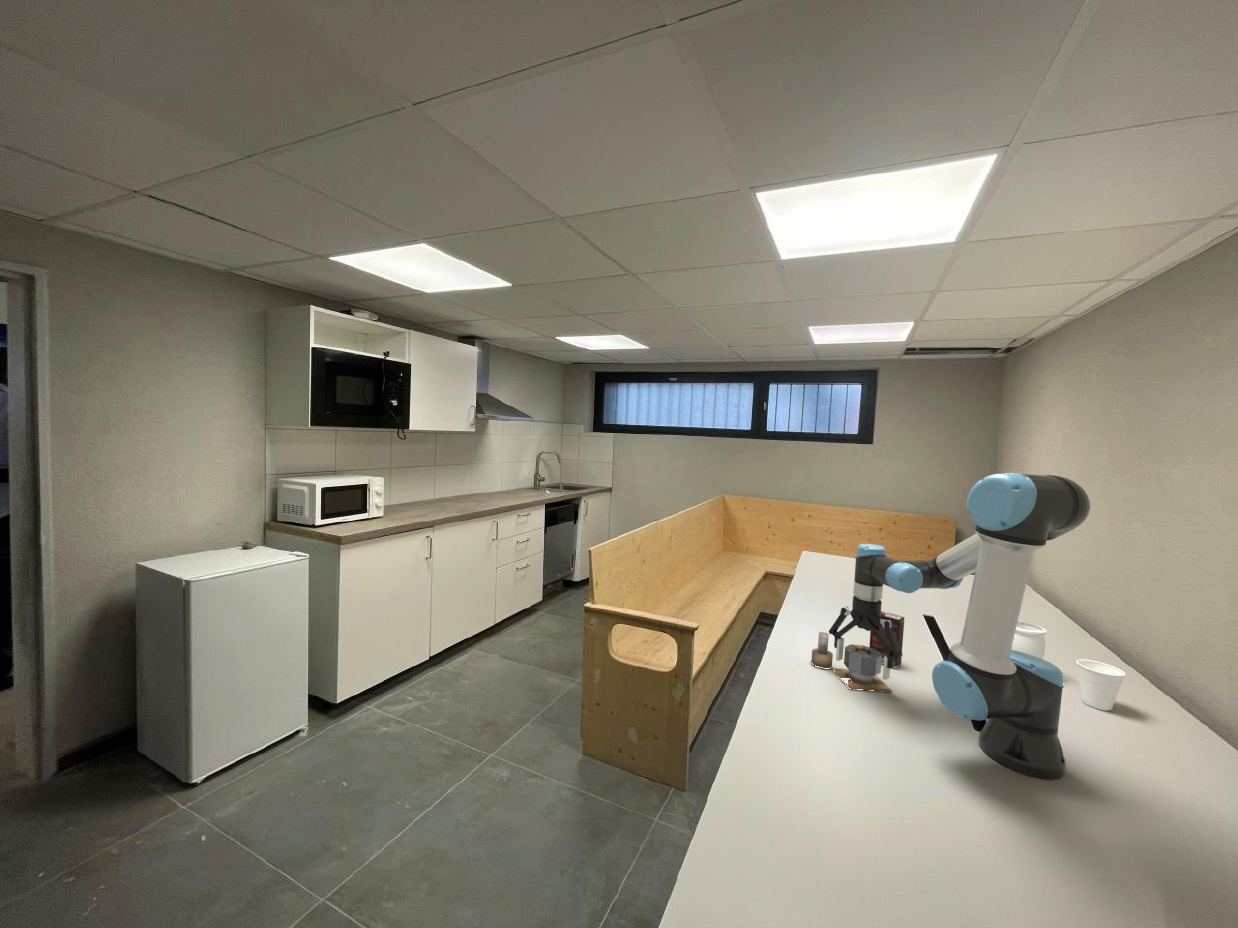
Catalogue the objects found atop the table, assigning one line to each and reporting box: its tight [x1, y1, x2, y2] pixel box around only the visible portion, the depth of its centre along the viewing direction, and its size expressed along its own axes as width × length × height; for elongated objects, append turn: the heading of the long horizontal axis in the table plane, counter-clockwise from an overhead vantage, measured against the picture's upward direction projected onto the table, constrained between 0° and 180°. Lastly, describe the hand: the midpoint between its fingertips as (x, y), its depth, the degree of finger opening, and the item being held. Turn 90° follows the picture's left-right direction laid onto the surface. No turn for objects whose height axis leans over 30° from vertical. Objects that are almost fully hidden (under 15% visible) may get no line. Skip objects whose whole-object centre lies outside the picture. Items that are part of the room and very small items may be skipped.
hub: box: [831, 651, 893, 693], centre depth 142 cm, size 12×12×8 cm
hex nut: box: [843, 643, 882, 676], centre depth 142 cm, size 9×9×5 cm
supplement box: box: [868, 610, 905, 670], centre depth 156 cm, size 9×5×16 cm, turn 43°
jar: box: [1011, 620, 1048, 660], centre depth 154 cm, size 11×10×15 cm
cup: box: [1075, 658, 1127, 712], centre depth 135 cm, size 10×10×11 cm
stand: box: [810, 631, 834, 668], centre depth 151 cm, size 6×6×10 cm
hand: (861, 668), depth 142 cm, fingers open, 13 cm apart
